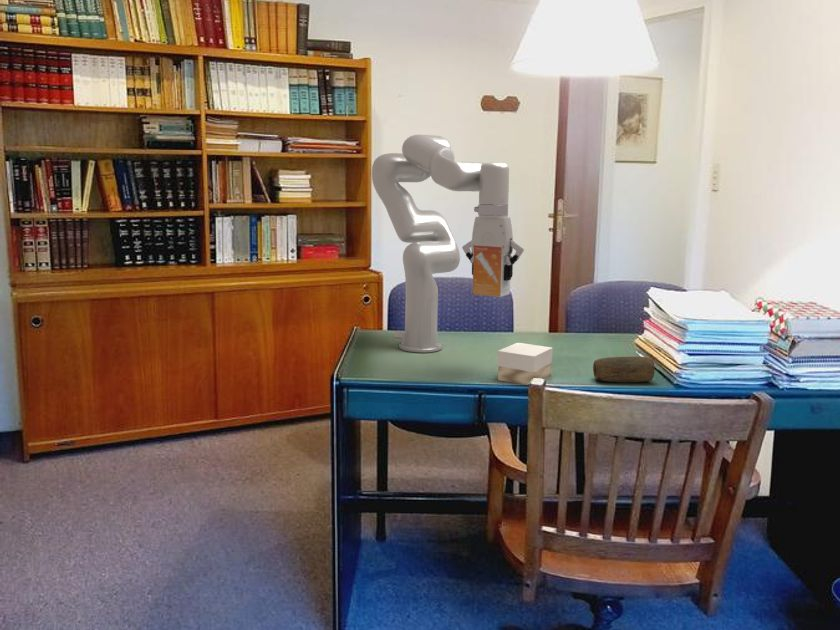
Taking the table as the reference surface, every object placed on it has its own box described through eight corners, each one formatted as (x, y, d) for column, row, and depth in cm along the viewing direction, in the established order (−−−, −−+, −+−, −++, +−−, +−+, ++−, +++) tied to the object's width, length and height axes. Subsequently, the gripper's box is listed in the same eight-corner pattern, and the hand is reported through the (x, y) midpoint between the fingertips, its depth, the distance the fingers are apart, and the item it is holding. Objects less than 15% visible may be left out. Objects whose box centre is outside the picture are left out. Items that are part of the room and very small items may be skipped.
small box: (472, 294, 202) (473, 244, 200) (482, 292, 207) (483, 243, 205) (500, 297, 198) (502, 246, 196) (510, 294, 203) (511, 244, 201)
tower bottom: (497, 381, 197) (498, 366, 196) (515, 371, 208) (515, 357, 207) (535, 387, 193) (535, 372, 192) (550, 377, 203) (551, 362, 202)
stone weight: (645, 378, 203) (647, 353, 202) (655, 385, 196) (657, 359, 195) (589, 378, 201) (591, 353, 200) (598, 385, 195) (599, 359, 193)
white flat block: (497, 366, 197) (497, 350, 196) (516, 357, 207) (517, 342, 206) (533, 372, 192) (534, 356, 191) (552, 362, 202) (552, 347, 201)
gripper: (456, 211, 200) (455, 278, 203) (519, 212, 192) (517, 282, 194) (468, 210, 206) (467, 275, 209) (530, 212, 198) (528, 279, 201)
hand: (491, 278), depth 202 cm, fingers closed on small box, 8 cm apart
